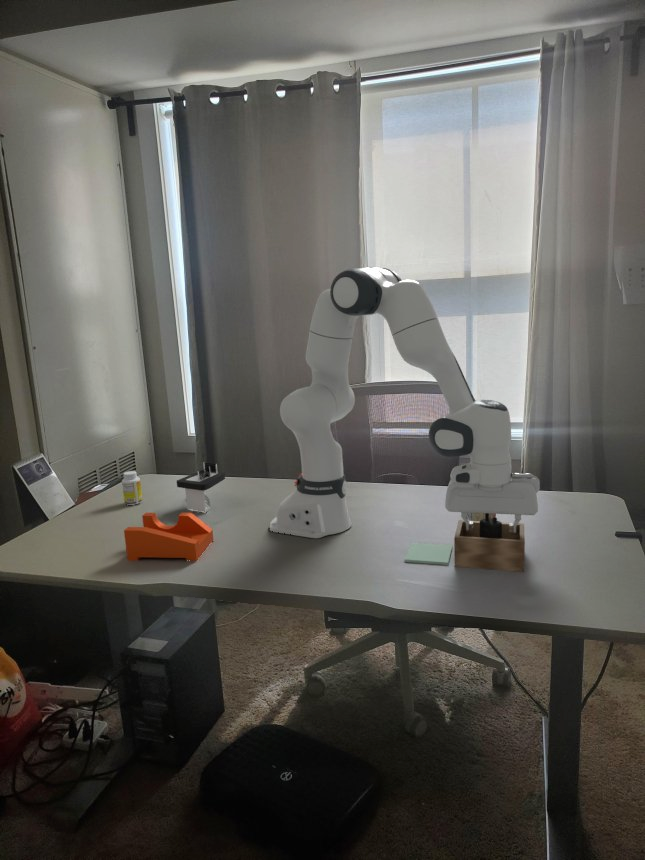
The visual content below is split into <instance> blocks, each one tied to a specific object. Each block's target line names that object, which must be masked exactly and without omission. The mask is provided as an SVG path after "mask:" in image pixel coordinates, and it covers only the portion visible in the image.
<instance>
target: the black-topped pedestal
mask: <svg viewBox="0 0 645 860" xmlns="http://www.w3.org/2000/svg"><path fill="white" fill-rule="evenodd" d="M202 464H203V469H202V470H199V471H198V470H197V472H195V473H192V474H189V475H187V476H184V477H182V478H179V479H178V480H176V487H177V488H180V489H184V490H185V499H186V508H187V509H193V510H198V511H204V512H206V509H207V508H208V507H210V508H211V502H210V499H209V498H208V496H207V490H209V489H211V488H213V487H214V486H216V485H218V484H219V483H221V482H223V481H224V480H225V479H226V476H225V475H226V474H225V471H218V464H217V463H209V462H205V461H204V462H203V463H202ZM205 500H206V501H207V502H205Z"/></svg>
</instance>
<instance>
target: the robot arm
mask: <svg viewBox="0 0 645 860" xmlns="http://www.w3.org/2000/svg"><path fill="white" fill-rule="evenodd" d="M375 314H379V315H381V316H382V317H383V318H384V319H385V321H386V323H387V324H388V327H389V330H390V332H391V337H392V339H393V342H394V345H395V347H396V349H397V351H398V353H399V355H400V357H401V358H402V360H403V361H405V363H407V364H408V365H410V366H412V367H415V368H419V369H421V370H422V371H425V372H427V373H428V374H430V375H431V376H432V377H433V378H434V379H435V381H436V382H437V385H438V386H439V389H440V391H441V393H442V395H443V397H444V400H445V402H446V404H447V406H448V409H449V413H447V414H445V415H442V416H440V417H438V418H437V419H436V420H434V421H433V422H432V423H431V424H430V427H429V430H428V441H429V444H430V445H431V448H432V449H433V450H434V452H436V453H437V454H439V456H443V457H445V458H448V457H449V458H451V457H463V456H469V460H470V462H467V463H464V464H461V465H457V466H454V467H453V468H452V470H451V471H450V480H449V483H448V486H447V489H446V494H445V500H444V501H445V505H444V506H445V509H446V510H447V512H450V513H460V515H461V516H460V517H461V519H462V520H464V522H465V523H466V530H473V521H470V520H469V519H468V513H490V514H496V515H497V514H498V515H514V521H513V522H508V523H509V532H510V533H516V526H517V525H518V523H521V522H520V521H521V520H522V516H535V515H536V514H537V513H538V512H539V506H538V505H539V504H538V494H537V493H539V491H540V487H541V486H540V485H541V483H540V482H541V481H540V479H539V477H537V475H534V474H533V473H528V472H527V473H521V472H512V456H511V454H510V447H511V444H512V425H511V417H510V412H509V409H508V407H507V406H506V405H505V404H503V403H502V402H500V401H496V400H493V399H477V400H476V398H475V397H474V395H473V393H472V391H471V388H470V386H469V384H468V382H467V380H466V377H465V376H464V373H463V371H462V369H461V366H460V364H459V362H458V360H457V358H456V356H455V355H454V353H453V351H452V349H451V347H450V345H449V343H448V341H447V339H446V336H445V334H444V332H443V329H442V326H441V323H440V320H439V318H438V315H437V313H436V310H435V308H434V306H433V304H432V301H431V300H430V297H429V296H428V294H427V293H426V291H425V288H423V285H422V284H421V283H420V282H418V281H416V280H413V279H405V280H402V278H401V276H399V274H398V273H396V272H395V271H393V270H391V269H389V268H385V267H375V266H366V267H360V268H355V267H354V268H348V269H345V270H343V271H342V272H340V273H338V274H337V275H336V276H335V277H334V279H333V280H332V282H331V285H330V288H328V289H325V290H323V291H321V292H320V294H319V296H318V297H317V300H316V303H315V306H314V309H313V313H312V316H311V321H310V326H309V334H308V339H307V346H306V352H305V362H306V364H307V365H308V366H309V368H310V370H311V379H312V380H311V384H310V385H309V386H305V387H301V388H297V389H295V390H294V391H292V392H291V393H289V394H288V395H286V396H285V397H284V398H283V400H282V401H281V403H280V406H279V415H280V418H281V421H282V423H283V425H284V426H286V428H288V430H291V432H292V433H293V434H294V437H295V439H296V441H297V444H298V447H299V453H300V462H301V464H300V465H301V473H300V474H299V475H298V477H297V478H296V479H295V481H294V487H296V489H295V490H294V491H293V492H292V493H290V494H288V496H286V497H285V498H284V499H283V500H282V501H281V502H280V504H279V506H278V508H277V512H276V513H277V514H276V515H277V516H275V517H274V518H272V520H271V521H270V523H269V528H270V529H269V530H270V532H272V531H273V532H272V533H278V532H279V534H284V533H285V534H286V535H290V534H291V535H292V536H297V537H304V538H311V539H320V538H323V537H325V536H329V535H335V534H339V533H340V534H341V533H343V532H346V531H347V530H348V529H350V528H351V527H352V524H353V523H352V520H351V518H350V514H349V510H348V505H347V500H346V494H347V493H346V492H347V481H346V474H344V463H343V461H344V459H343V448H342V446H341V444H340V443H339V442H338V441H336V440H335V438H334V436H333V433H332V430H331V424H333V423H335V422H338V421H340V420H342V419H343V418H344V417H346V416H347V415H348V414H349V413H350V412H352V411H353V409H354V406H355V405H356V403H355V402H356V398H355V397H356V396H355V393H354V390H353V389H352V387H351V385H350V381H349V360H350V355H351V351H352V344H353V343H352V342H353V338H354V331H355V326H356V323H357V320H358V318H359V317H360V316H373V315H375Z"/></svg>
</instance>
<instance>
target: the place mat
mask: <svg viewBox="0 0 645 860" xmlns="http://www.w3.org/2000/svg"><path fill="white" fill-rule="evenodd" d="M452 551H453V545H452V544H438V543H437V544H436V543H422V542H411V543H410V546H409V548H408V550H407V552H406V555H405V557H404V562H405V563H417V564H429V565H430V564H431V565H443V566H449V563H450V559H451V554H452Z"/></svg>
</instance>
